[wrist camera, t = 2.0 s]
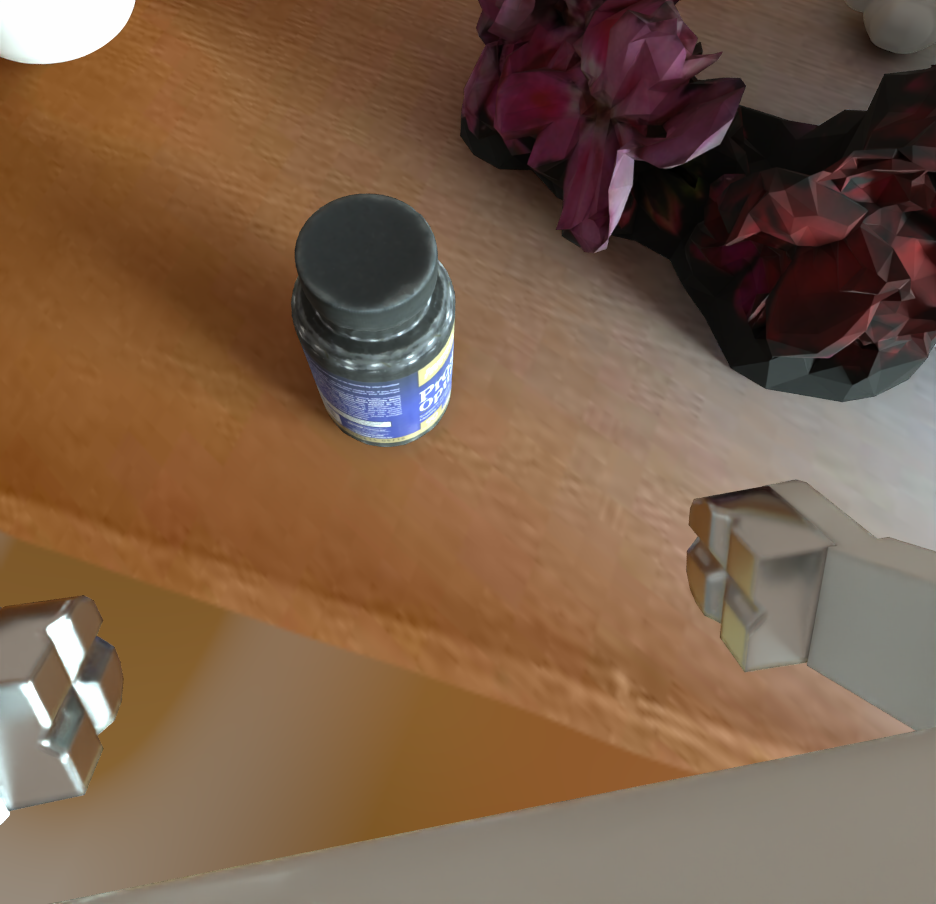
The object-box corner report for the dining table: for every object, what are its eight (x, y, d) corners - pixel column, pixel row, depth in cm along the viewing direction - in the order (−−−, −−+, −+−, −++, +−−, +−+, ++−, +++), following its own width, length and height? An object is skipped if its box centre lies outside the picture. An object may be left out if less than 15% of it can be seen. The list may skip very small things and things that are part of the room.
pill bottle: (446, 454, 32) (452, 341, 21) (314, 445, 32) (256, 327, 21) (454, 337, 34) (464, 181, 23) (331, 328, 34) (285, 167, 23)
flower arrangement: (1016, 204, 38) (1361, -80, 24) (908, 497, 32) (1282, 351, 18) (528, -21, 42) (577, -380, 28) (351, 205, 36) (297, -107, 22)
